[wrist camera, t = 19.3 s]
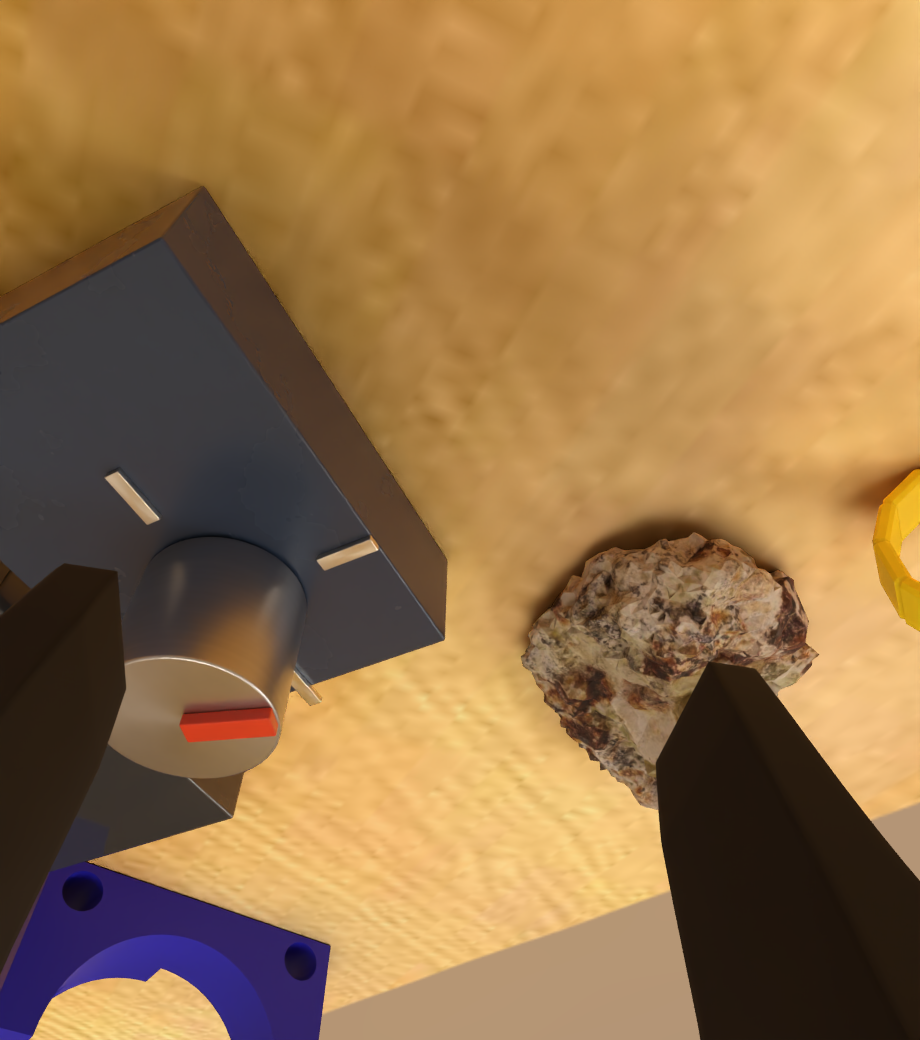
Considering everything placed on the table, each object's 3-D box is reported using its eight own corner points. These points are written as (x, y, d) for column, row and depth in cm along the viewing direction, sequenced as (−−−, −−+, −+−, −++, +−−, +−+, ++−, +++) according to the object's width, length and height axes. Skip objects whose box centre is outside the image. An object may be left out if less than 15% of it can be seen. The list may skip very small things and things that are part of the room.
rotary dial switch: (-85, 342, 19) (-167, 414, 17) (204, 183, 17) (158, 239, 15) (217, 659, 26) (190, 745, 23) (456, 573, 23) (454, 658, 21)
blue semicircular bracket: (17, 901, 34) (-55, 1067, 30) (57, 852, 32) (-14, 1024, 27) (279, 984, 39) (252, 1140, 34) (330, 945, 36) (309, 1108, 32)
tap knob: (173, 660, 21) (123, 797, 18) (117, 543, 19) (48, 677, 16) (323, 648, 21) (297, 785, 18) (284, 528, 19) (247, 661, 15)
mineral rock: (493, 589, 21) (855, 631, 18) (532, 480, 24) (845, 503, 21) (525, 827, 27) (791, 879, 25) (552, 717, 30) (790, 755, 28)
